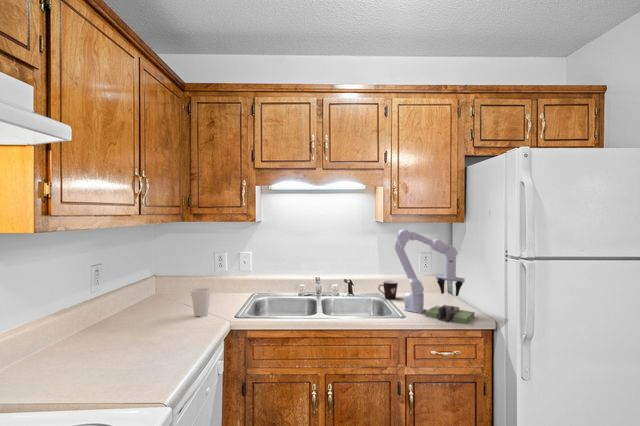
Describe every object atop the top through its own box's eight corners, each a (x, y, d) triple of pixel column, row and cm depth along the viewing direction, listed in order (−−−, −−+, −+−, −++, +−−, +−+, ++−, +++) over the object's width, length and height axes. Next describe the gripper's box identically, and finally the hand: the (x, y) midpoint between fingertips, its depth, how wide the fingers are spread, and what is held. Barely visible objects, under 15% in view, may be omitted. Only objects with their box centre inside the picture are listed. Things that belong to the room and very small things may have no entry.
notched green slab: (425, 316, 199) (425, 308, 199) (435, 310, 210) (436, 302, 210) (465, 323, 187) (465, 315, 187) (474, 317, 198) (474, 309, 198)
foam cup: (201, 311, 205) (201, 287, 204) (214, 314, 200) (214, 289, 200) (187, 316, 197) (187, 290, 196) (200, 319, 192) (199, 292, 191)
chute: (438, 320, 192) (438, 308, 192) (444, 316, 199) (444, 304, 199) (448, 322, 189) (448, 310, 189) (453, 318, 196) (454, 306, 196)
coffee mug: (396, 296, 240) (396, 280, 240) (398, 300, 232) (398, 283, 231) (377, 296, 241) (377, 280, 241) (378, 299, 233) (378, 283, 233)
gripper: (466, 269, 205) (466, 295, 205) (439, 266, 214) (439, 291, 214) (462, 271, 199) (461, 297, 200) (434, 268, 208) (434, 293, 208)
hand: (449, 294), depth 206 cm, fingers open, 7 cm apart
